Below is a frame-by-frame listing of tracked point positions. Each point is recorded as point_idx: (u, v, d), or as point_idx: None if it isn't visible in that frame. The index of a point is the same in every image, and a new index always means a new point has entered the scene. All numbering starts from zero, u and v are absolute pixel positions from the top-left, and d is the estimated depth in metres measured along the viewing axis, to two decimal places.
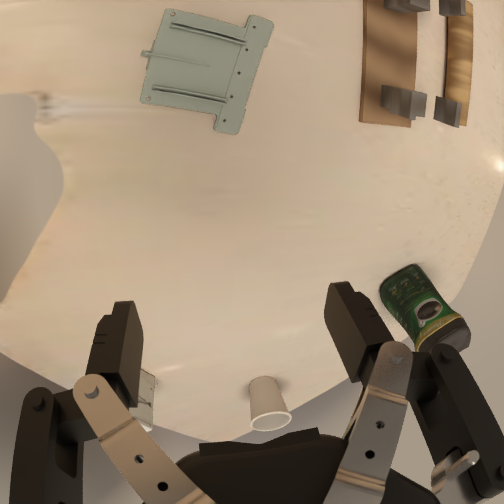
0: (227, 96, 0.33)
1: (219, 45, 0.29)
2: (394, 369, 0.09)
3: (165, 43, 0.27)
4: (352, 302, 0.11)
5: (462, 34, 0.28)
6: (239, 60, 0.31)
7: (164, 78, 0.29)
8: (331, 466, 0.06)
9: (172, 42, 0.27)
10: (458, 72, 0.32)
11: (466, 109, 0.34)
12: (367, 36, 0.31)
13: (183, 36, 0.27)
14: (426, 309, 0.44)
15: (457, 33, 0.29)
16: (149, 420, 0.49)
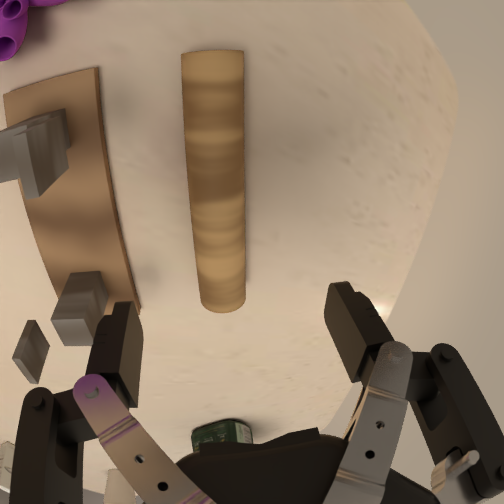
0: None
1: None
2: (394, 369, 0.09)
3: None
4: (352, 302, 0.11)
5: (199, 142, 0.19)
6: None
7: None
8: (331, 466, 0.06)
9: None
10: (199, 228, 0.23)
11: (230, 287, 0.25)
12: (27, 213, 0.21)
13: None
14: None
15: (189, 143, 0.19)
16: None
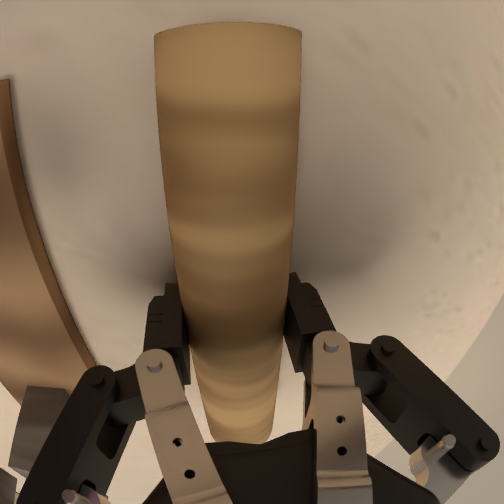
0: None
1: None
2: (326, 358, 0.09)
3: None
4: (295, 292, 0.12)
5: (200, 250, 0.09)
6: None
7: None
8: (307, 472, 0.06)
9: None
10: (207, 376, 0.12)
11: (254, 432, 0.15)
12: None
13: None
14: None
15: (179, 245, 0.09)
16: None
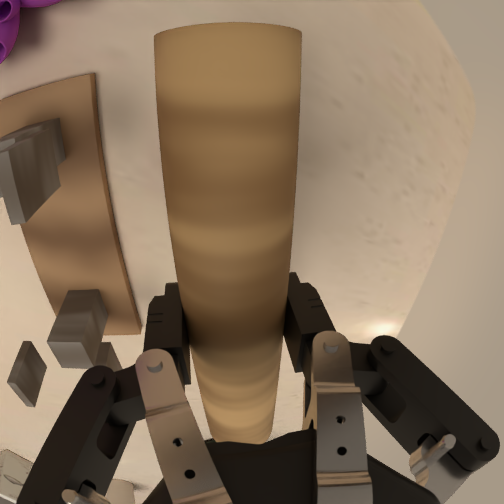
0: None
1: None
2: (326, 358, 0.09)
3: None
4: (295, 292, 0.12)
5: (200, 250, 0.09)
6: None
7: None
8: (307, 472, 0.06)
9: None
10: (207, 376, 0.12)
11: (254, 432, 0.15)
12: (21, 227, 0.20)
13: None
14: None
15: (179, 245, 0.09)
16: None
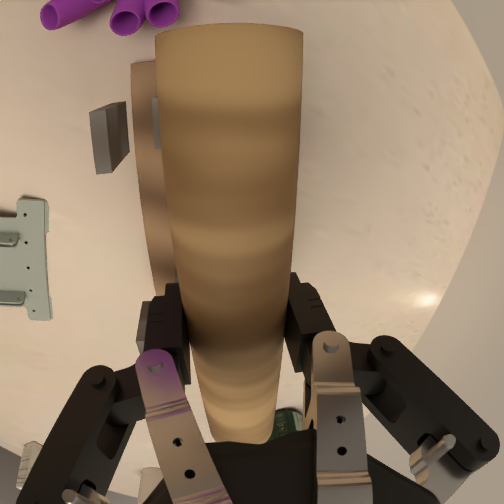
0: (26, 290, 0.27)
1: None
2: (326, 358, 0.09)
3: None
4: (295, 292, 0.12)
5: (202, 252, 0.09)
6: (24, 254, 0.25)
7: None
8: (307, 472, 0.06)
9: None
10: (208, 377, 0.12)
11: (255, 432, 0.15)
12: (140, 190, 0.24)
13: None
14: None
15: (181, 247, 0.09)
16: None
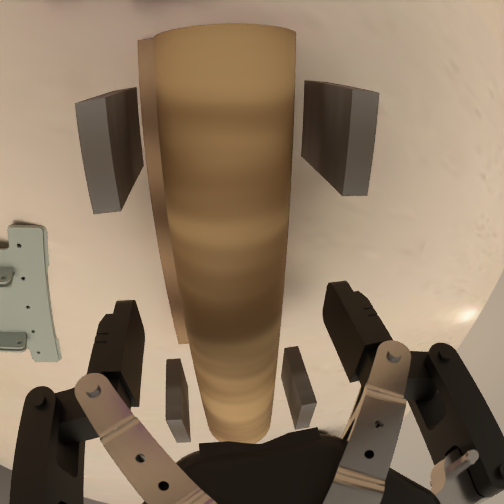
0: (28, 332, 0.22)
1: None
2: (392, 368, 0.09)
3: None
4: (350, 301, 0.11)
5: (198, 243, 0.09)
6: (22, 292, 0.20)
7: None
8: (330, 466, 0.06)
9: None
10: (205, 369, 0.13)
11: (252, 427, 0.15)
12: (153, 211, 0.19)
13: None
14: None
15: (178, 239, 0.10)
16: None
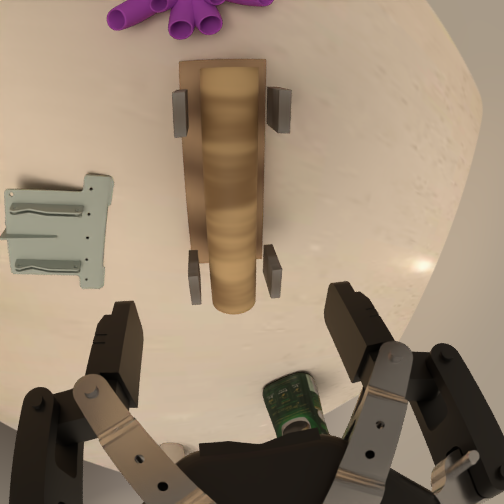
0: (82, 260, 0.34)
1: None
2: (394, 369, 0.09)
3: (14, 222, 0.28)
4: (352, 302, 0.11)
5: (216, 153, 0.21)
6: (85, 225, 0.32)
7: (24, 252, 0.30)
8: (331, 466, 0.06)
9: (20, 220, 0.28)
10: (214, 233, 0.24)
11: (241, 290, 0.27)
12: (184, 163, 0.30)
13: (26, 214, 0.28)
14: (292, 429, 0.44)
15: (207, 153, 0.21)
16: None
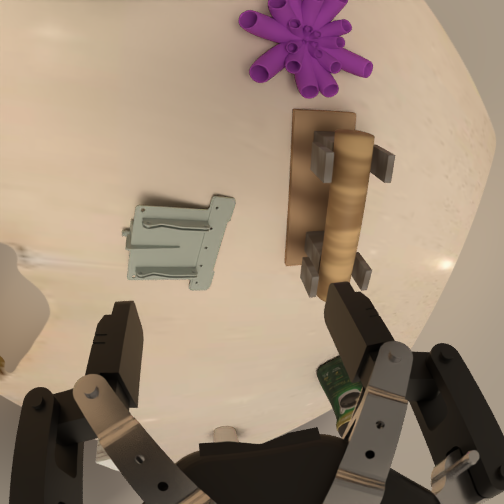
0: (197, 266, 0.44)
1: None
2: (394, 369, 0.09)
3: (140, 235, 0.38)
4: (352, 302, 0.11)
5: (346, 194, 0.30)
6: (205, 237, 0.42)
7: (144, 261, 0.40)
8: (331, 466, 0.06)
9: (146, 233, 0.38)
10: (334, 246, 0.34)
11: None
12: (291, 189, 0.40)
13: None
14: (348, 399, 0.54)
15: (338, 193, 0.31)
16: None
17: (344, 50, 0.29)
